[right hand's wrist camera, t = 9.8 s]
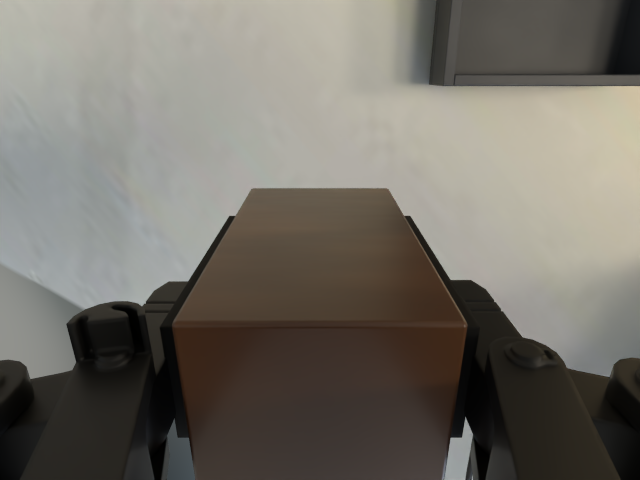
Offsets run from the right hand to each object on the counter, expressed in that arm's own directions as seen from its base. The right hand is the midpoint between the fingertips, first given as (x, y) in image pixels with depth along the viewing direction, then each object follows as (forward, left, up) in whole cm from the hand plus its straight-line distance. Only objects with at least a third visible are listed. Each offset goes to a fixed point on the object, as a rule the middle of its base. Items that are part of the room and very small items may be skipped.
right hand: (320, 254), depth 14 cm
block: (0, 0, 0) cm, 0 cm away
